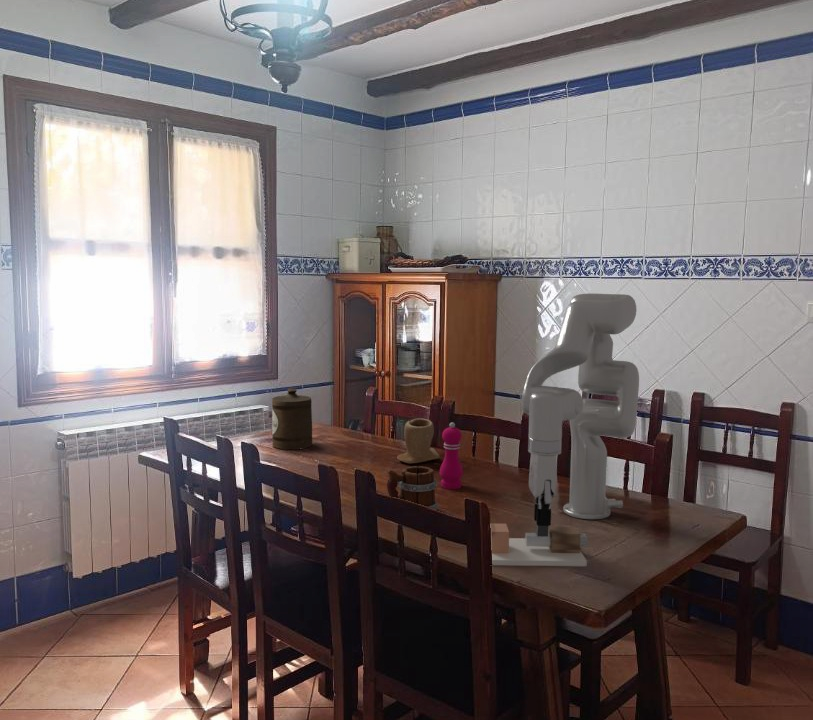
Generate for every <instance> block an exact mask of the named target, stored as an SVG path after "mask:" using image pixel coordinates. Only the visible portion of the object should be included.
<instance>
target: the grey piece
mask: <svg viewBox="0 0 813 720" xmlns="http://www.w3.org/2000/svg"><path fill="white" fill-rule="evenodd" d="M537 508H538V503H537ZM548 530H549V526H538V525H537V516H536V521H535V532H525V533H524V534H525V535H524V538H525V544H526V546H540V547H551V537H552V536H551V534H550V533H548ZM580 534H581V536H580V548H588V536H587V535H586V533H581V532H580Z"/></svg>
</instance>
